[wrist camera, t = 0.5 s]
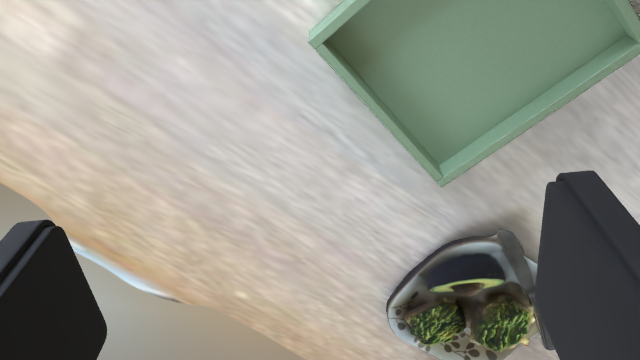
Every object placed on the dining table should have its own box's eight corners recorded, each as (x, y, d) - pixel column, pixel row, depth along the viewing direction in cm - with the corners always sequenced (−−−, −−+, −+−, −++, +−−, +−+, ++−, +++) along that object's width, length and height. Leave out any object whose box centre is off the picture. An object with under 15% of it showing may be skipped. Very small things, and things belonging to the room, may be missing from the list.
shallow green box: (309, 31, 44) (307, 42, 41) (521, -159, 37) (534, -160, 34) (436, 172, 50) (441, 188, 48) (636, 33, 43) (654, 44, 41)
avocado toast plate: (610, 293, 58) (630, 325, 54) (489, 379, 66) (499, 413, 62) (480, 203, 52) (492, 232, 48) (364, 309, 60) (367, 341, 56)
